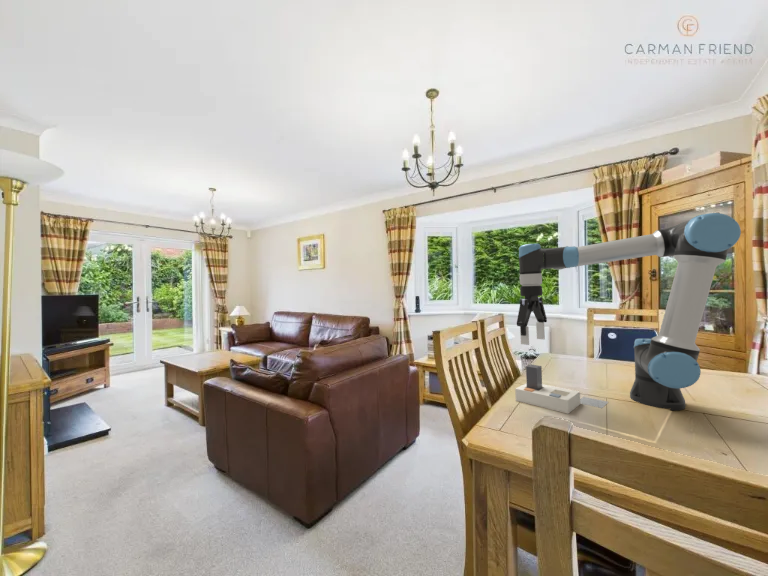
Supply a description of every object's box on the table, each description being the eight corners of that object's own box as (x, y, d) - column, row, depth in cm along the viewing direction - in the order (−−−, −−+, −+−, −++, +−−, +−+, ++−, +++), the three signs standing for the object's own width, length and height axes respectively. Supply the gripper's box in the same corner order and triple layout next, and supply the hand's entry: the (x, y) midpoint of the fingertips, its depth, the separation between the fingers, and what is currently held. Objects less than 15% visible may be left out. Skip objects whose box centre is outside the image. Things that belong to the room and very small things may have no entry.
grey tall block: (542, 397, 120) (541, 366, 120) (537, 400, 117) (536, 368, 117) (531, 395, 123) (530, 364, 123) (527, 397, 120) (526, 366, 120)
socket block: (580, 405, 114) (579, 390, 114) (568, 415, 106) (567, 399, 106) (529, 393, 127) (529, 380, 127) (515, 401, 119) (515, 387, 119)
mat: (608, 403, 114) (608, 401, 114) (602, 409, 109) (602, 408, 109) (583, 398, 120) (583, 396, 120) (576, 403, 115) (576, 402, 115)
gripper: (535, 284, 131) (537, 336, 131) (505, 286, 114) (507, 345, 114) (554, 284, 125) (556, 337, 125) (525, 286, 109) (528, 347, 109)
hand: (533, 341), depth 120 cm, fingers open, 13 cm apart
